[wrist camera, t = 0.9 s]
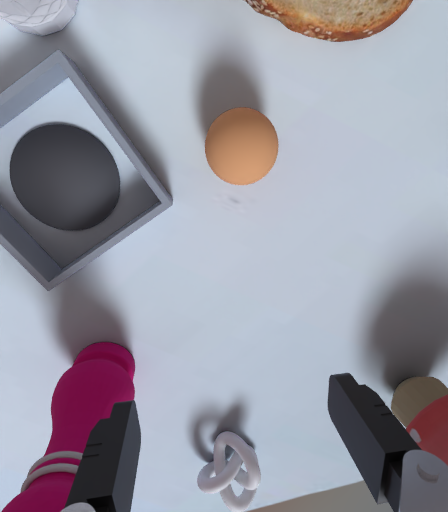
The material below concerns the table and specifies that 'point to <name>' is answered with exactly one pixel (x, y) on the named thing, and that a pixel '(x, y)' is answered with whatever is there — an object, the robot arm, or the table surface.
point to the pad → (64, 177)
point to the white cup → (38, 14)
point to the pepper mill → (76, 423)
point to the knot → (231, 472)
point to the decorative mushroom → (424, 413)
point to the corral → (60, 68)
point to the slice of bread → (333, 16)
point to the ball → (241, 146)
